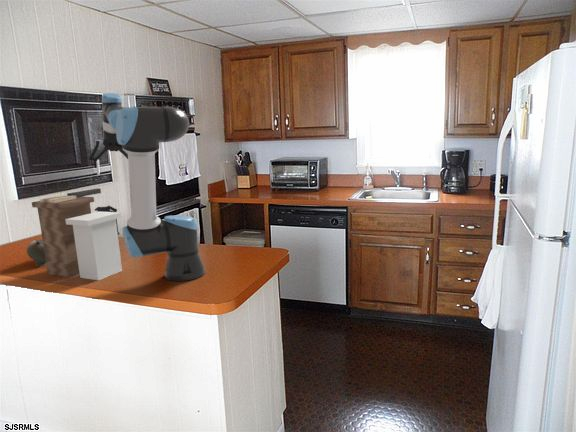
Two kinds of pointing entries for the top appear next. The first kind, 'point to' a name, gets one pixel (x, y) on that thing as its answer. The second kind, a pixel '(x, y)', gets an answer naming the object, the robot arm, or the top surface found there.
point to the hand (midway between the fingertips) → (114, 174)
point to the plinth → (61, 234)
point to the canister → (107, 209)
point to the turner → (71, 196)
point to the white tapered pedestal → (97, 244)
